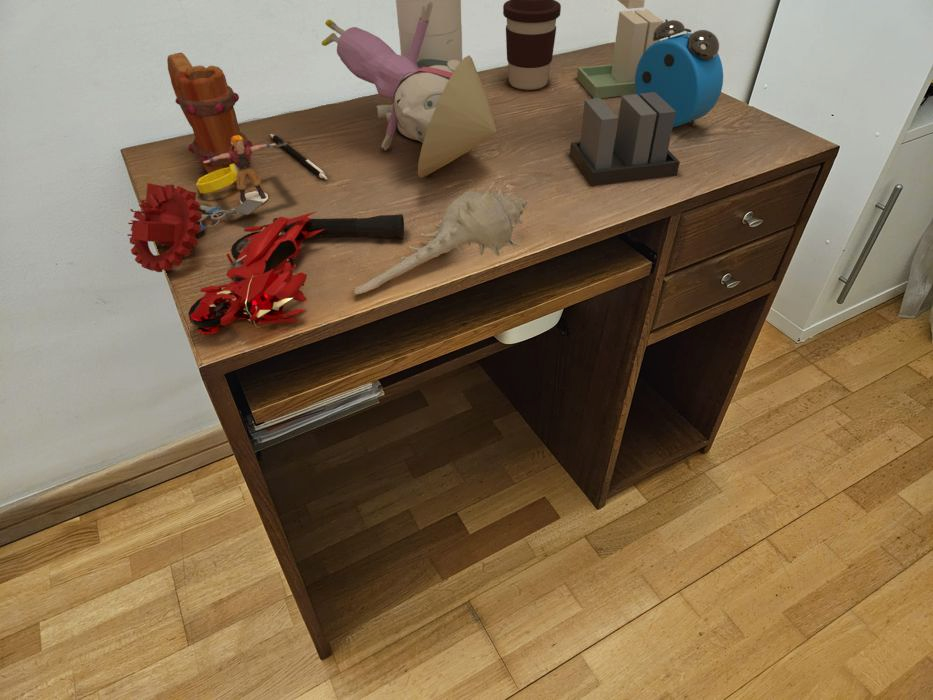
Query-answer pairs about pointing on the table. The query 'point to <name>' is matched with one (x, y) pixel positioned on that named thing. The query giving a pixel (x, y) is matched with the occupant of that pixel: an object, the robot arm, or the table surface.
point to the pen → (300, 158)
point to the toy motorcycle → (257, 278)
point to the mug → (206, 109)
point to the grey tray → (622, 168)
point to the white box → (632, 3)
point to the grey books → (627, 130)
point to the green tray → (603, 82)
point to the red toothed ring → (165, 226)
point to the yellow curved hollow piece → (217, 179)
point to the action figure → (246, 167)
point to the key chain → (229, 211)
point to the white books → (632, 42)
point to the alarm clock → (682, 71)
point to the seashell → (463, 231)
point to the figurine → (421, 93)
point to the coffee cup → (530, 41)
